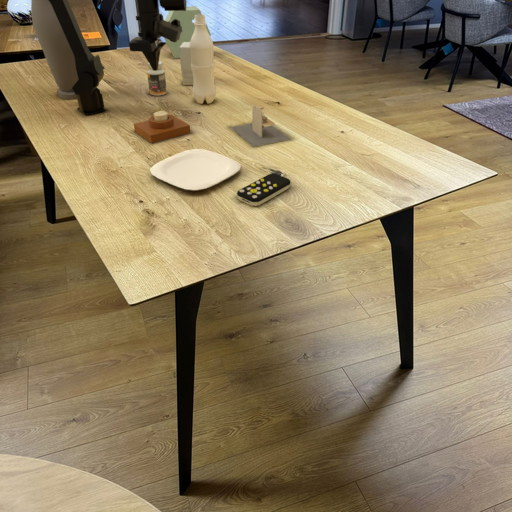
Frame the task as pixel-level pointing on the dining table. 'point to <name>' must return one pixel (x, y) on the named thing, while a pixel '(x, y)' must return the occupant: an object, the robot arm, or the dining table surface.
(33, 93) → the dining table surface
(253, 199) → the remote control
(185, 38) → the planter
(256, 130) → the architectural model
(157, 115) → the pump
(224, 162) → the plate
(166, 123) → the base
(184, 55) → the light grey tall block
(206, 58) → the water bottle
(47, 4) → the vase
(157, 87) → the pill bottle
